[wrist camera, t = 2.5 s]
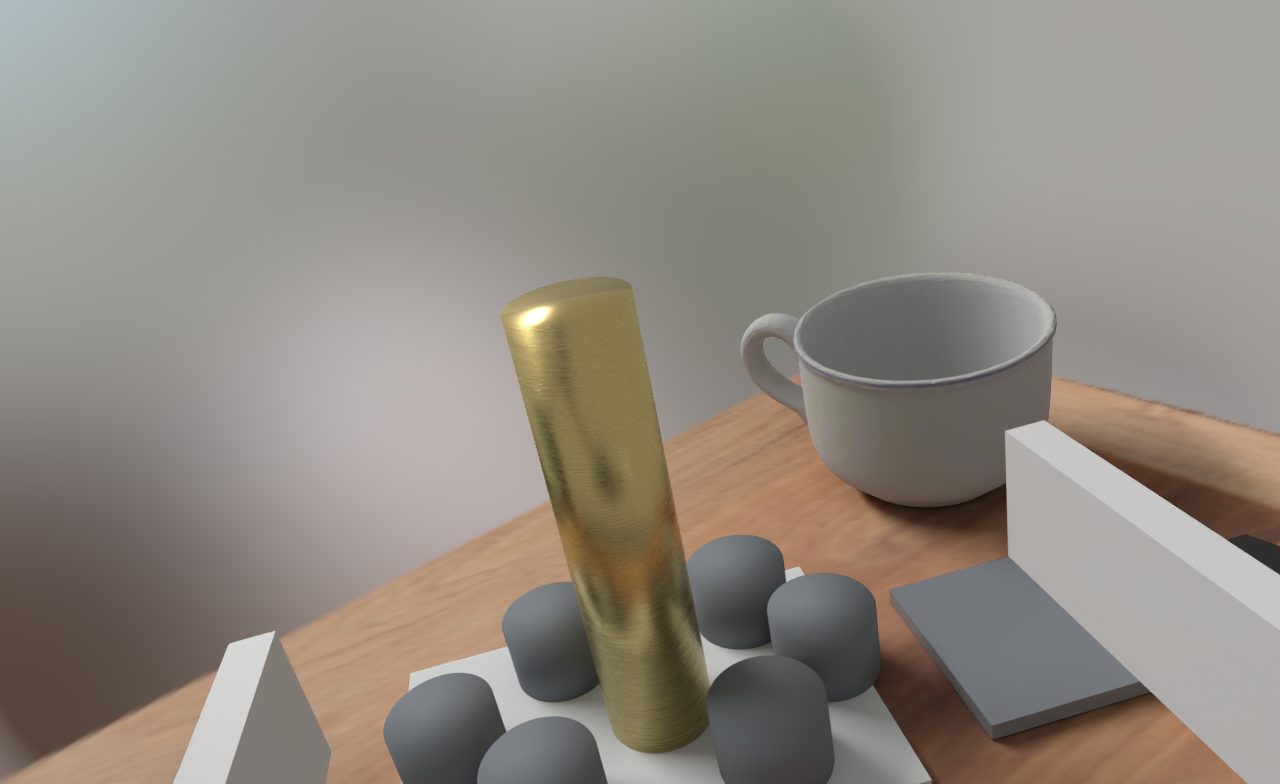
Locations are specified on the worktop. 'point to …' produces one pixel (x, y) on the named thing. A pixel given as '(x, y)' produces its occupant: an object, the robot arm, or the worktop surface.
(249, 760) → the robot arm
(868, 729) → the mat
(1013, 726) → the slate coaster
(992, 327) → the teacup
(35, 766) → the worktop surface
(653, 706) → the cylinder
